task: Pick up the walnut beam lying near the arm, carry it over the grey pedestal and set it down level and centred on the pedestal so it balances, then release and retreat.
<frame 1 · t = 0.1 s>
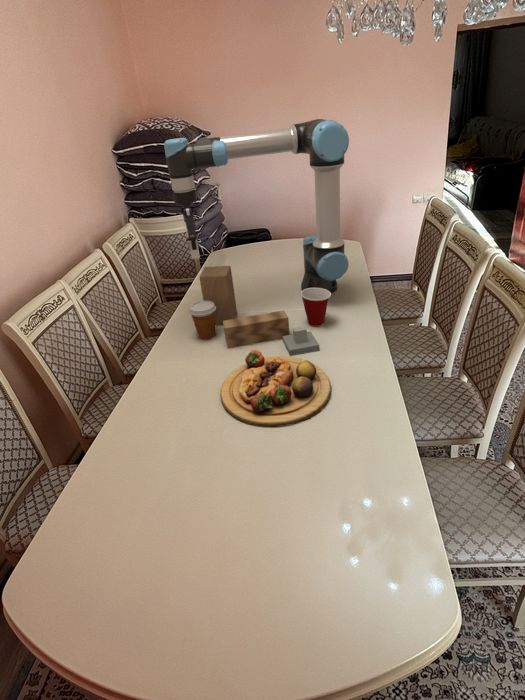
hand: (194, 252, 160), 28 cm above the table, fingers open, 13 cm apart
wooden block: (222, 319, 175), on the table
walnut beam: (257, 339, 159), on the table
disposable coffee cup: (207, 336, 165), on the table
plastic cup: (316, 323, 165), on the table
pedestal: (300, 345, 152), on the table
wooden plate with food: (275, 392, 131), on the table
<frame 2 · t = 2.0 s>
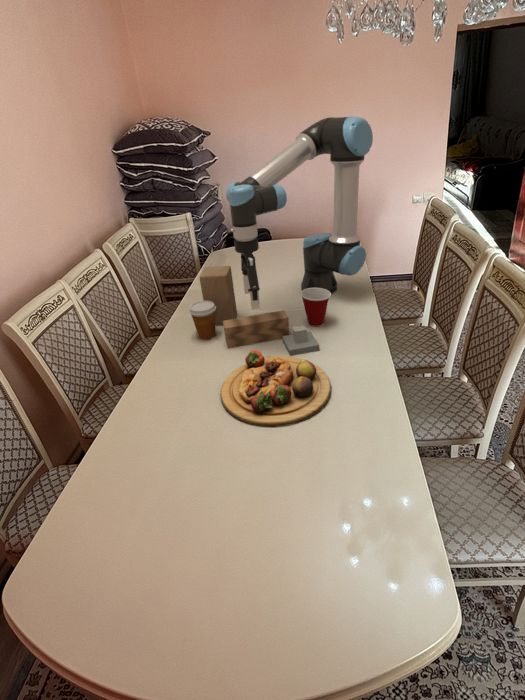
hand: (252, 300, 151), 15 cm above the table, fingers open, 13 cm apart
nothing on the table moved.
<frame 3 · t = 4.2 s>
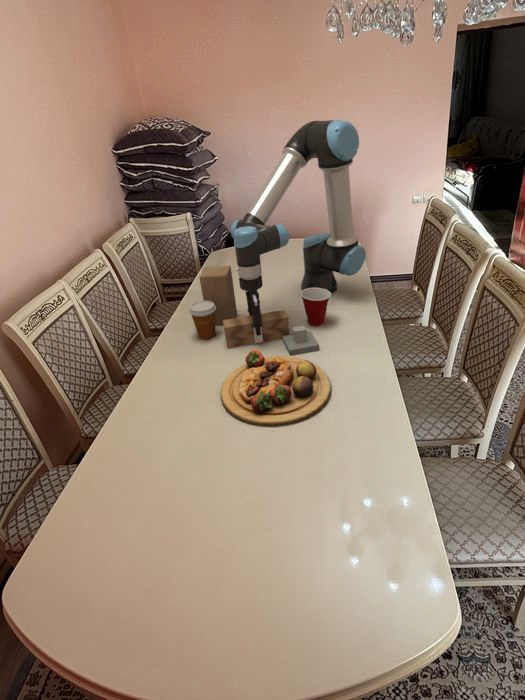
hand: (257, 337, 159), 0 cm above the table, fingers closed on walnut beam, 6 cm apart
walnut beam: (257, 338, 159), on the table, touching gripper
everything else where it was.
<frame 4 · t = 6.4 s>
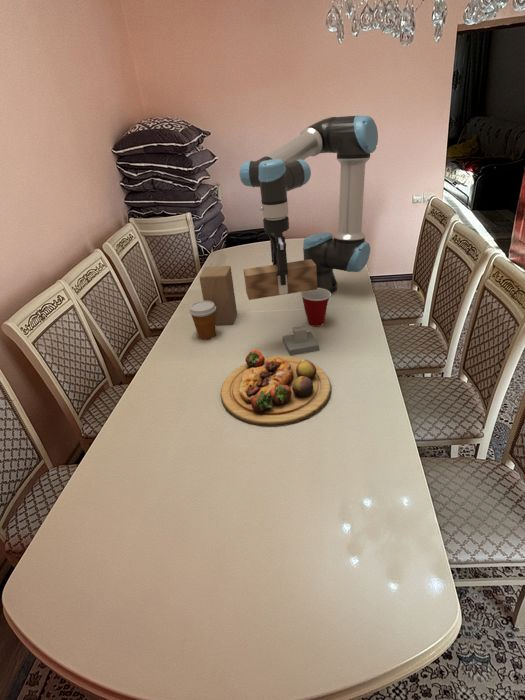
hand: (281, 289, 144), 20 cm above the table, fingers closed on walnut beam, 6 cm apart
walnut beam: (281, 291, 144), point 19 cm above the table, touching gripper
everything else where it was.
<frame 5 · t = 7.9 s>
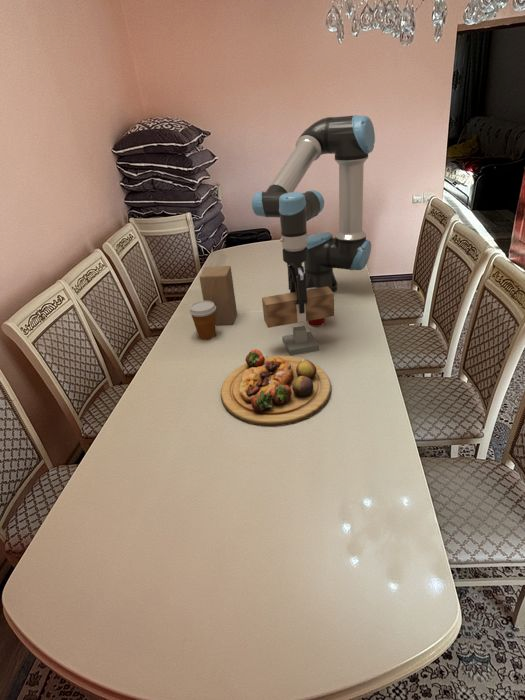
hand: (298, 316, 146), 11 cm above the table, fingers closed on walnut beam, 6 cm apart
walnut beam: (299, 318, 147), point 10 cm above the table, touching gripper
everything else where it was.
when the fingers open (8 cm above the table, at t = 8.9 s): walnut beam stays where it is, resting on pedestal.
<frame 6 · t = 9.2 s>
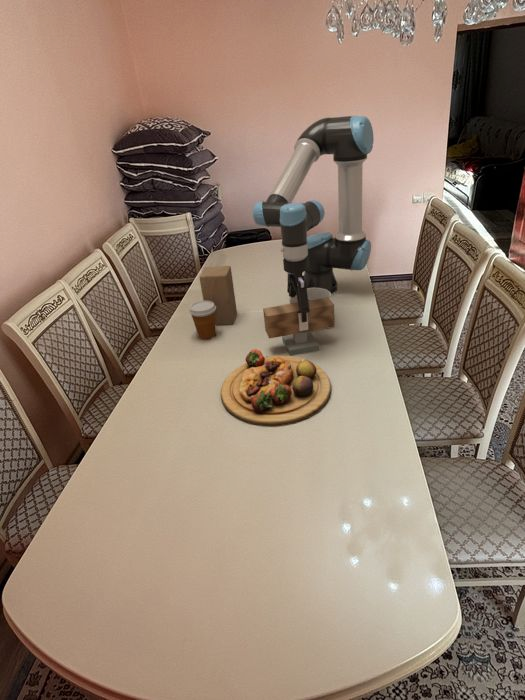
hand: (299, 322, 147), 9 cm above the table, fingers open, 10 cm apart
walnut beam: (299, 328, 149), point 6 cm above the table, touching pedestal
everything else where it was.
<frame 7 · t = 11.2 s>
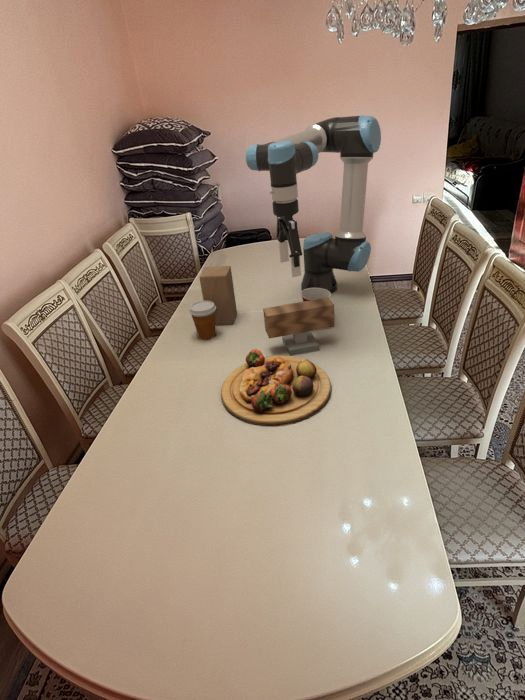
hand: (290, 268, 143), 26 cm above the table, fingers open, 13 cm apart
nothing on the table moved.
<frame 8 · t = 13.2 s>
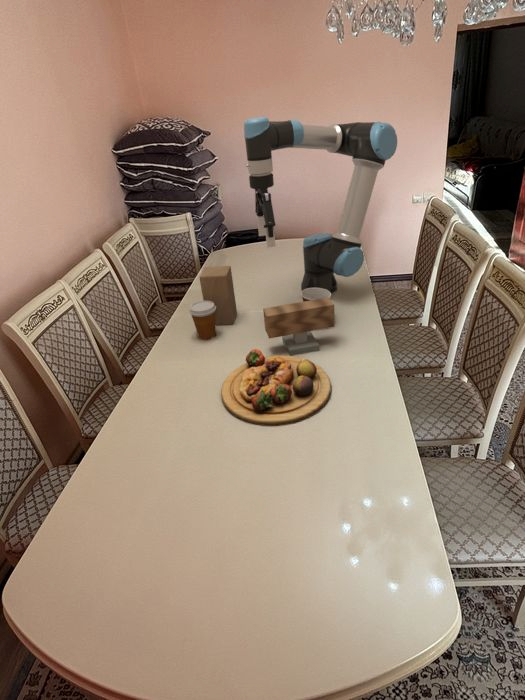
hand: (266, 240, 151), 32 cm above the table, fingers open, 13 cm apart
nothing on the table moved.
at the end: walnut beam 0.0 cm off-centre on the pedestal, point 6.5 cm above the pedestal's base; walnut beam tilted 0°; walnut beam touching pedestal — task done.
